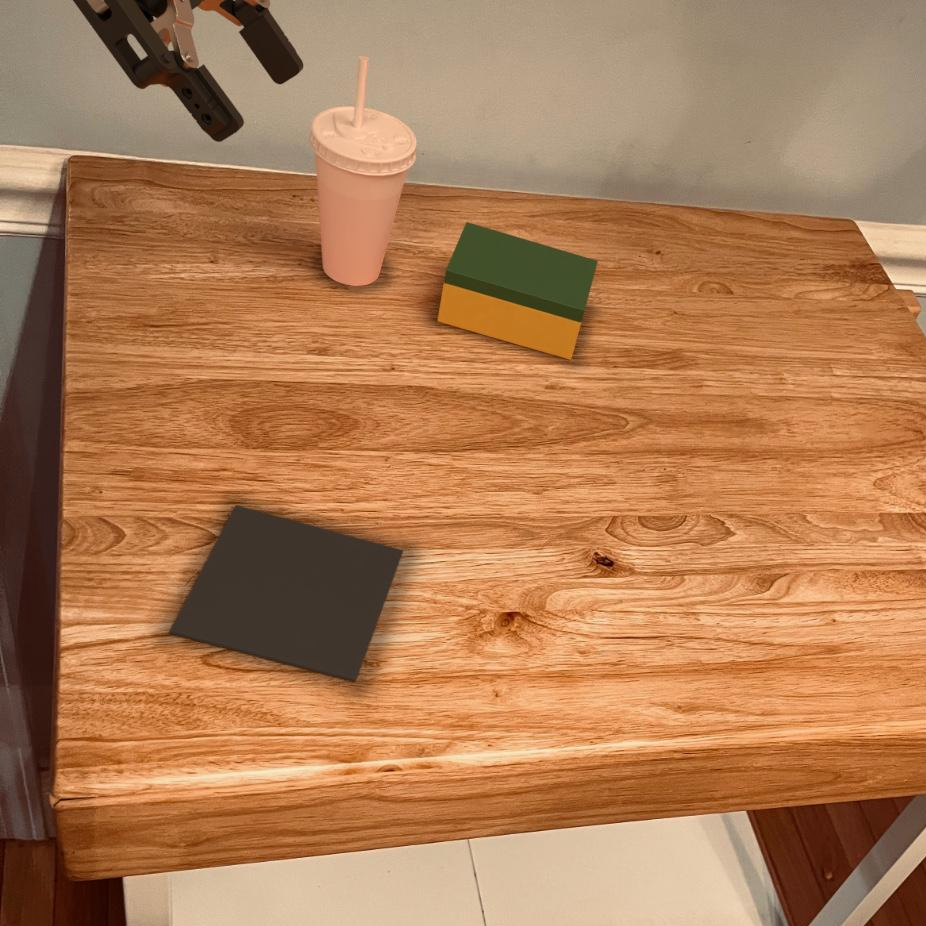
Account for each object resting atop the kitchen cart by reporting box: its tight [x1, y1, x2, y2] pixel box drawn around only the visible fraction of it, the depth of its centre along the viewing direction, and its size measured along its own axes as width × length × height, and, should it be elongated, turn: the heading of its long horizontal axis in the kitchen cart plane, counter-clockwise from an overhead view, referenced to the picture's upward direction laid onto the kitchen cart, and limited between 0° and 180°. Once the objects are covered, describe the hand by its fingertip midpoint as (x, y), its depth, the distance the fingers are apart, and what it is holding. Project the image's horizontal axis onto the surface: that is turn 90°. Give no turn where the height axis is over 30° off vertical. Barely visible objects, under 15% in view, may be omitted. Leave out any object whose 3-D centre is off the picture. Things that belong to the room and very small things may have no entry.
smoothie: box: [308, 55, 418, 287], centre depth 73 cm, size 6×6×14 cm
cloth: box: [169, 504, 404, 683], centre depth 60 cm, size 9×9×1 cm
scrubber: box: [437, 221, 598, 361], centre depth 78 cm, size 9×6×4 cm, turn 83°
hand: (263, 104), depth 71 cm, fingers open, 8 cm apart
